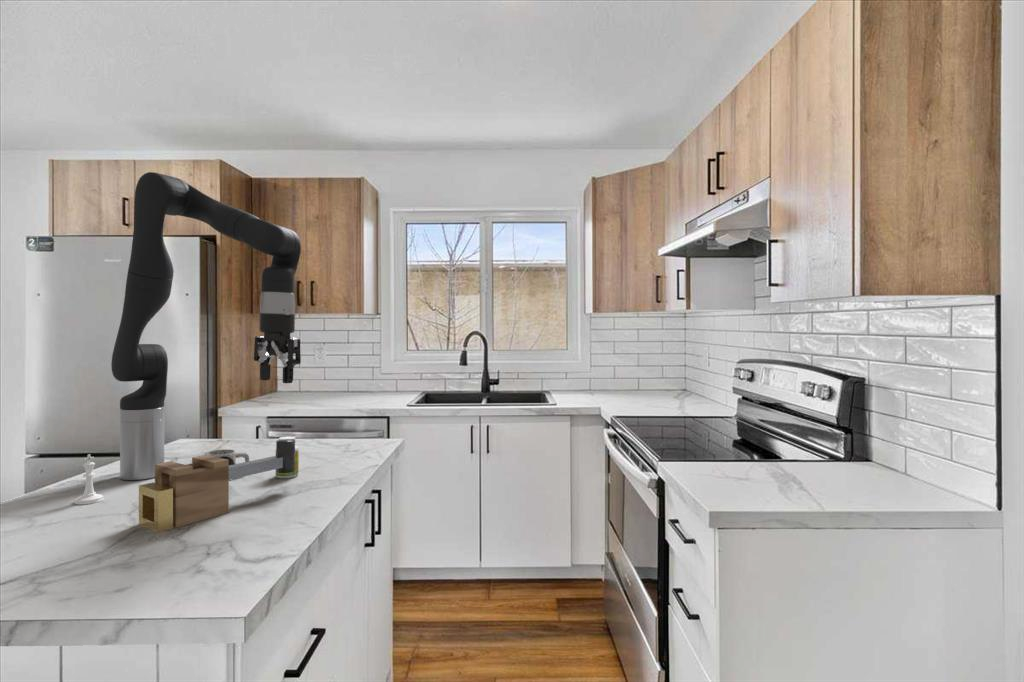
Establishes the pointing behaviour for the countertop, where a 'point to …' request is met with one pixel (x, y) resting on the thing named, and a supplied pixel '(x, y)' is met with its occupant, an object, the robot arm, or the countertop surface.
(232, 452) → the mug
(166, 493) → the block
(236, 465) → the shaft
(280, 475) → the supplement bottle
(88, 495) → the chess piece
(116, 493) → the countertop surface
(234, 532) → the countertop surface
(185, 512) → the bearing block
